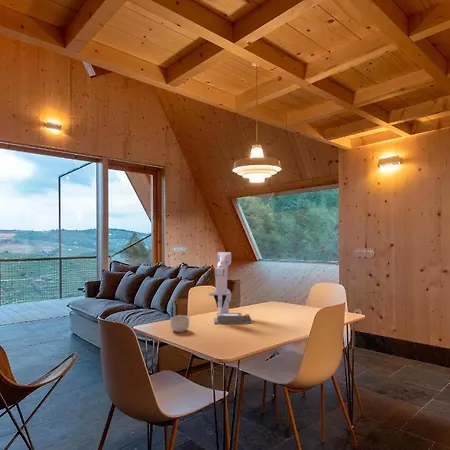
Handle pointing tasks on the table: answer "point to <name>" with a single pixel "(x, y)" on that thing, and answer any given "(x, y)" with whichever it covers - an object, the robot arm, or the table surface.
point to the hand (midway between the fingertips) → (220, 307)
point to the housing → (232, 319)
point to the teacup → (179, 323)
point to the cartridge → (225, 314)
